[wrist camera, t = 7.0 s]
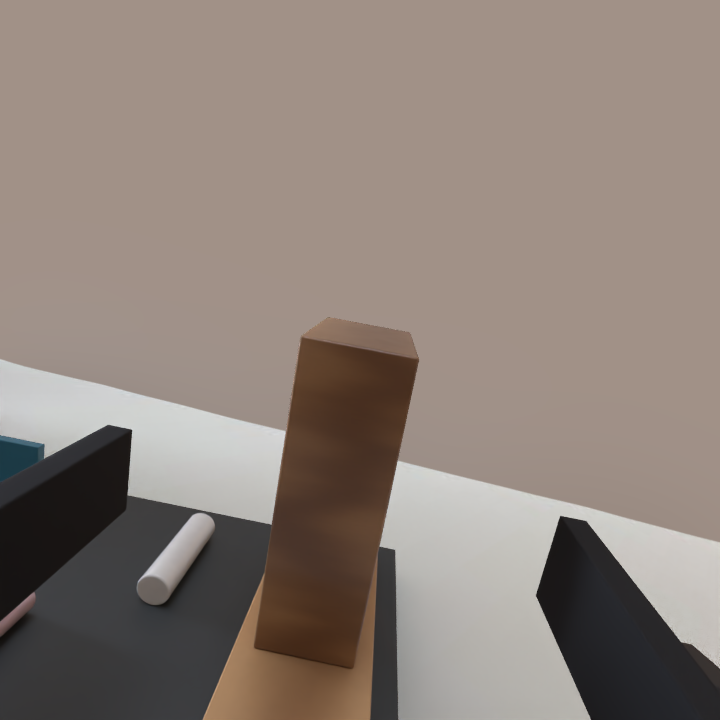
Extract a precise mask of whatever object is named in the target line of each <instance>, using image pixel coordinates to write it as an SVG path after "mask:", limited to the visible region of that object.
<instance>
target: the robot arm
mask: <svg viewBox="0 0 720 720" xmlns="http://www.w3.org/2000/svg"><path fill="white" fill-rule="evenodd" d="M131 438H132V430H131V429H126V428H121V427H116V426H111V425H107V426H105V427H103V428H101V429H100V430H98V431H96V432H94V433H92V434H90V435H88V436H86V437H84V438H83V439H81V440H79V441H77V442H75V443H73V444H71V445H69V446H68V447H66V448H64V449H62V450H60V451H58V452H56V453H54V454H52V455H51V456H49V457H47V458H45V459H43V460H41V461H39V462H37V463H35V464H34V465H32V466H30V467H28V468H26V469H24V470H22V471H20V472H19V473H17V474H15V475H13V476H11V477H9V478H7V479H5V480H3V481H2V482H0V621H2V620H3V619H4V618H5V617H6V616H7V615H8V614H10V613H11V612H12V611H13V610H14V609H15V608H16V607H17V606H19V605H20V604H21V603H22V602H23V601H24V600H25V599H26V598H28V597H29V596H30V595H31V594H32V593H33V592H34V591H35V590H37V589H38V588H39V587H40V586H41V585H42V584H43V583H44V582H46V581H47V580H48V579H49V578H50V577H51V576H52V575H54V574H55V573H56V572H57V571H58V570H59V569H60V568H61V567H63V566H64V565H65V564H66V563H67V562H68V561H69V560H70V559H72V558H73V557H74V556H75V555H76V554H77V553H78V552H79V551H81V550H82V549H83V548H84V547H85V546H86V545H87V544H89V543H90V542H91V541H92V540H93V539H94V538H95V537H96V536H98V535H99V534H100V533H101V532H102V531H103V530H104V529H105V528H107V527H108V526H109V525H110V524H111V523H112V522H113V521H114V520H116V519H117V518H118V517H119V516H120V515H121V514H122V513H123V512H125V511H126V507H127V493H128V480H129V466H130V452H131ZM536 597H537V599H538V601H539V603H540V606H541V608H542V610H543V612H544V615H545V617H546V619H547V621H548V624H549V626H550V628H551V630H552V633H553V635H554V637H555V639H556V642H557V644H558V646H559V648H560V651H561V653H562V655H563V657H564V660H565V662H566V664H567V666H568V669H569V671H570V673H571V675H572V678H573V680H574V682H575V684H576V687H577V689H578V691H579V693H580V696H581V698H582V700H583V702H584V705H585V707H586V709H587V711H588V714H589V716H590V718H591V720H720V669H719V668H718V667H717V666H716V665H715V664H714V663H713V662H711V661H710V660H709V659H708V658H707V657H706V656H704V655H703V654H702V653H701V652H700V651H699V650H697V649H696V648H695V647H694V646H693V645H691V644H686V643H681V642H680V640H679V639H678V638H677V637H676V635H675V634H674V633H673V631H672V630H671V629H670V628H669V626H668V625H667V624H666V623H665V621H664V620H663V619H662V617H661V616H660V615H659V614H658V612H657V611H656V610H655V608H654V607H653V606H652V605H651V603H650V602H649V601H648V599H647V598H646V597H645V596H644V594H643V593H642V592H641V591H640V589H639V588H638V587H637V585H636V584H635V583H634V582H633V580H632V579H631V578H630V576H629V575H628V574H627V573H626V571H625V570H624V569H623V568H622V566H621V565H620V564H619V562H618V561H617V560H616V559H615V557H614V556H613V555H612V553H611V552H610V551H609V550H608V548H607V547H606V546H605V544H604V543H603V542H602V541H601V539H600V538H599V537H598V536H597V534H596V533H595V532H594V530H593V529H592V528H591V527H590V525H589V524H588V523H587V521H583V520H578V519H573V518H568V517H563V516H560V519H559V522H558V525H557V528H556V532H555V535H554V538H553V541H552V545H551V548H550V551H549V554H548V558H547V561H546V564H545V568H544V571H543V574H542V577H541V581H540V584H539V587H538V590H537V594H536Z"/></svg>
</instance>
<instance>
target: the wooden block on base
mask: <svg viewBox="0 0 720 720" xmlns="http://www.w3.org/2000/svg"><path fill="white" fill-rule="evenodd" d="M418 362H419V358H418V355H417V352H416V349H415V346H414V343H413V340H412V337H411V334H410V333H409V332H405V331H399V330H393V329H389V328H383V327H377V326H372V325H367V324H362V323H357V322H351V321H346V320H341V319H335V318H330V317H328V318H326V319H325V320H324V321H322V322H320V323H319V324H318V325H316V326H315V327H313V328H312V329H310V330H309V331H308V332H306V333H305V334H303V335H302V336H301V337H300V342H299V348H298V355H297V362H296V368H295V375H294V382H293V388H292V394H291V401H290V408H289V414H288V421H287V427H286V434H285V441H284V447H283V454H282V460H281V467H280V474H279V480H278V487H277V493H276V500H275V507H274V513H273V520H272V526H271V533H270V540H269V546H268V553H267V559H266V566H265V573H264V575H263V577H262V580H261V582H260V585H259V587H258V589H257V592H256V594H255V596H254V599H253V601H252V604H251V606H250V608H249V611H248V613H247V615H246V618H245V620H244V623H243V625H242V627H241V630H240V632H239V634H238V637H237V639H236V642H235V644H234V646H233V649H232V651H231V653H230V656H229V658H228V661H227V663H226V665H225V668H224V670H223V672H222V675H221V677H220V679H219V682H218V684H217V687H216V689H215V691H214V694H213V696H212V698H211V701H210V703H209V706H208V708H207V710H206V713H205V715H204V717H203V720H370V715H371V693H372V671H373V649H374V627H375V605H376V583H377V561H378V551H379V546H380V541H381V537H382V532H383V527H384V523H385V518H386V513H387V508H388V504H389V499H390V494H391V490H392V485H393V480H394V475H395V471H396V466H397V461H398V456H399V451H400V447H401V442H402V438H403V433H404V428H405V423H406V419H407V414H408V409H409V404H410V400H411V395H412V390H413V386H414V381H415V376H416V372H417V367H418Z"/></svg>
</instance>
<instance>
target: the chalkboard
mask: <svg viewBox="0 0 720 720" xmlns="http://www.w3.org/2000/svg"><path fill="white" fill-rule="evenodd" d="M197 513H204V514H207V515H209V516H210V517H211V518H212V519H213V521H214V523H215V531H214V533H213V535H212V536H211V538H210V539H209V540H208V542H207V543H206V545H205V546H204V548H203V549H202V551H201V552H200V554H199V555H198V557H197V558H196V560H195V561H194V563H193V564H192V565H191V567H190V568H189V570H188V571H187V573H186V574H185V576H184V577H183V579H182V580H181V582H180V583H179V585H178V586H177V587H176V589H175V590H174V592H173V593H172V595H171V596H170V598H169V599H168V600H167V601H166V602H165V603H163V604H161V605H150V604H148V603H146V602H144V601H143V600H142V599H141V598H140V597H139V595H138V593H137V583H138V581H139V579H140V578H141V577H142V576H143V574H144V573H145V572H146V571H147V570H148V568H149V567H150V566H151V565H152V563H153V562H154V561H155V560H156V559H157V557H158V556H159V555H160V554H161V552H162V551H163V550H164V549H165V548H166V546H167V545H168V544H169V543H170V541H171V540H172V539H173V538H174V537H175V535H176V534H177V533H178V532H179V531H180V529H181V528H182V527H183V526H184V524H185V523H186V522H187V521H188V520H189V518H190V517H191V516H192V515H194V514H197ZM271 526H272V525H270V524H265V523H260V522H255V521H250V520H245V519H241V518H236V517H231V516H226V515H221V514H216V513H211V512H206V511H201V510H196V509H191V508H186V507H182V506H177V505H172V504H167V503H162V502H157V501H152V500H147V499H142V498H137V497H132V496H128V495H127V507H126V511H125V512H123V513H122V514H121V515H120V516H119V517H118V518H117V519H116V520H114V521H113V522H112V523H111V524H110V525H109V526H108V527H107V528H105V529H104V530H103V531H102V532H101V533H100V534H99V535H98V536H96V537H95V538H94V539H93V540H92V541H91V542H90V543H89V544H87V545H86V546H85V547H84V548H83V549H82V550H81V551H79V552H78V553H77V554H76V555H75V556H74V557H73V558H72V559H70V560H69V561H68V562H67V563H66V564H65V565H64V566H63V567H61V568H60V569H59V570H58V571H57V572H56V573H55V574H54V575H52V576H51V577H50V578H49V579H48V580H47V581H46V582H44V583H43V584H42V585H41V586H40V587H39V588H38V589H37V590H35V591H34V592H35V595H36V602H35V604H34V606H33V608H32V609H31V610H30V611H29V612H28V613H27V614H25V615H24V616H23V617H22V618H21V619H20V620H19V621H18V622H17V623H16V624H15V625H14V626H13V627H12V628H10V629H9V630H8V631H7V632H6V633H5V634H4V635H3V636H2V637H1V638H0V720H203V717H204V715H205V713H206V710H207V708H208V706H209V703H210V701H211V698H212V696H213V694H214V691H215V689H216V687H217V684H218V682H219V679H220V677H221V675H222V672H223V670H224V668H225V665H226V663H227V661H228V658H229V656H230V653H231V651H232V649H233V646H234V644H235V642H236V639H237V637H238V634H239V632H240V630H241V627H242V625H243V623H244V620H245V618H246V615H247V613H248V611H249V608H250V606H251V604H252V601H253V599H254V596H255V594H256V592H257V589H258V587H259V585H260V582H261V580H262V577H263V575H264V573H265V566H266V559H267V553H268V546H269V540H270V533H271ZM370 720H398V691H397V631H396V571H395V550H393V549H388V548H383V547H379V551H378V561H377V583H376V605H375V627H374V649H373V671H372V693H371V715H370Z"/></svg>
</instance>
